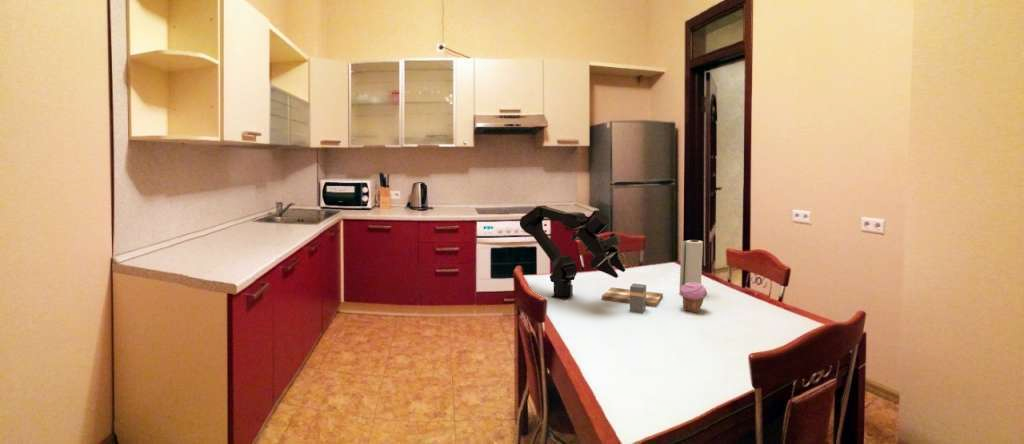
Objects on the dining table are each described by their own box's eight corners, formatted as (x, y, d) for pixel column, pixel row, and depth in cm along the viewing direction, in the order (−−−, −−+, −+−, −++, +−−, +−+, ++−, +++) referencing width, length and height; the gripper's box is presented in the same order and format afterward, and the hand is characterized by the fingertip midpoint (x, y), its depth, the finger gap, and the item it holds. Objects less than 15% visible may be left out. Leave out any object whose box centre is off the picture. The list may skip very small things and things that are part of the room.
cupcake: (674, 310, 160) (676, 282, 159) (685, 304, 166) (686, 277, 165) (700, 316, 154) (701, 287, 153) (710, 309, 160) (711, 282, 159)
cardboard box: (601, 299, 173) (601, 295, 173) (611, 290, 184) (611, 287, 184) (655, 307, 164) (656, 303, 163) (662, 297, 175) (662, 293, 175)
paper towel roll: (702, 294, 179) (704, 240, 176) (698, 298, 174) (701, 242, 171) (682, 291, 183) (684, 238, 180) (679, 295, 178) (681, 241, 175)
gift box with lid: (629, 311, 159) (630, 286, 158) (632, 307, 164) (633, 283, 162) (642, 313, 157) (643, 288, 156) (645, 309, 161) (646, 284, 160)
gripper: (598, 230, 154) (630, 265, 150) (614, 223, 170) (643, 254, 166) (576, 251, 159) (607, 285, 155) (593, 242, 175) (621, 273, 171)
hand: (621, 274), depth 162 cm, fingers open, 9 cm apart
